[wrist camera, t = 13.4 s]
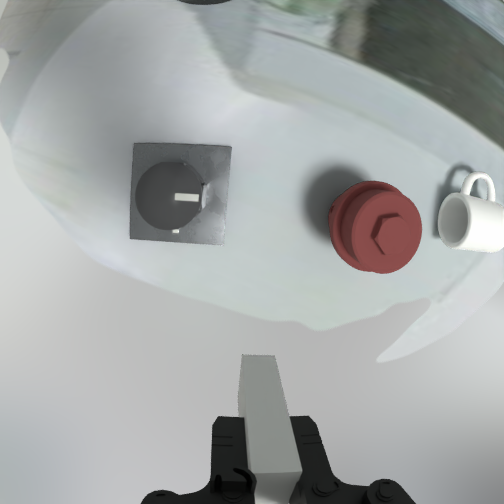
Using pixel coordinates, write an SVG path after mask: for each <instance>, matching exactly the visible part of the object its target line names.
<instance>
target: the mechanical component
mask: <svg viewBox="0 0 504 504" xmlns="http://www.w3.org/2000/svg"><path fill="white" fill-rule="evenodd" d="M328 223H329V228H330V237H331V241H332V244H333V246H334V249H335V250H336V252H337V254H338V255H339V256H340V257H341V258H342V259H343V260H344V261H345V262H346V263H347V264H349V265H350V266H352V267H353V268H356V269H358V270H361V271H367V272H375V273H381V274H385V273H391V272H394V271H397V270H399V269H400V268H402V267H403V266H405V265H406V264H407V263H408V262H409V261H410V260H411V259H412V257H413V256H414V255H415V253H416V251H417V249H418V246H419V244H420V240H421V234H422V223H421V218H420V214H419V212H418V210H417V208H416V206H415V205H414V203H413V202H412V201H411V200H410V199H409V198H407V197H406V196H404V195H403V194H402V193H401V192H400V191H399V190H398V189H397V188H395V187H394V186H392V185H390V184H388V183H384V182H379V181H364V182H360V183H357V184H355V185H353V186H351V187H350V188H349V189H347V190H346V191H345V192H344V193H343V194H342V195H340V196H339V197H338V198H337V199H336V200H335V201H334V202H333V204H332V206H331V208H330V211H329V216H328Z"/></svg>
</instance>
